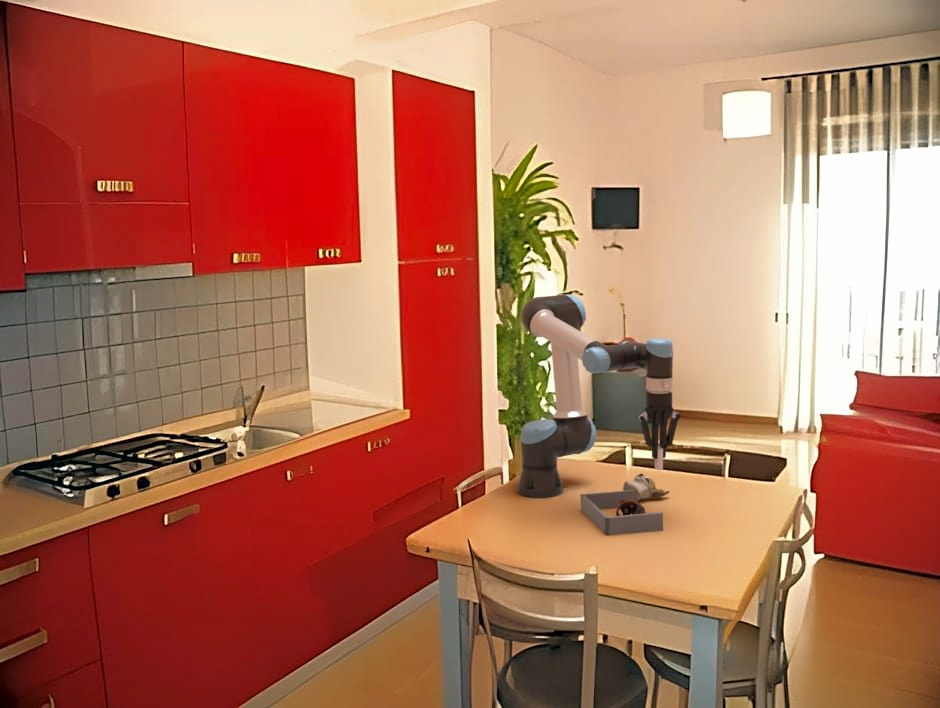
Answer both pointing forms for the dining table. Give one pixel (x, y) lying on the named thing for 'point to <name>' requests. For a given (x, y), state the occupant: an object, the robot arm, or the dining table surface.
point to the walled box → (618, 523)
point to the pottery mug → (629, 508)
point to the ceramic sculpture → (644, 488)
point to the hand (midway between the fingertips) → (658, 468)
